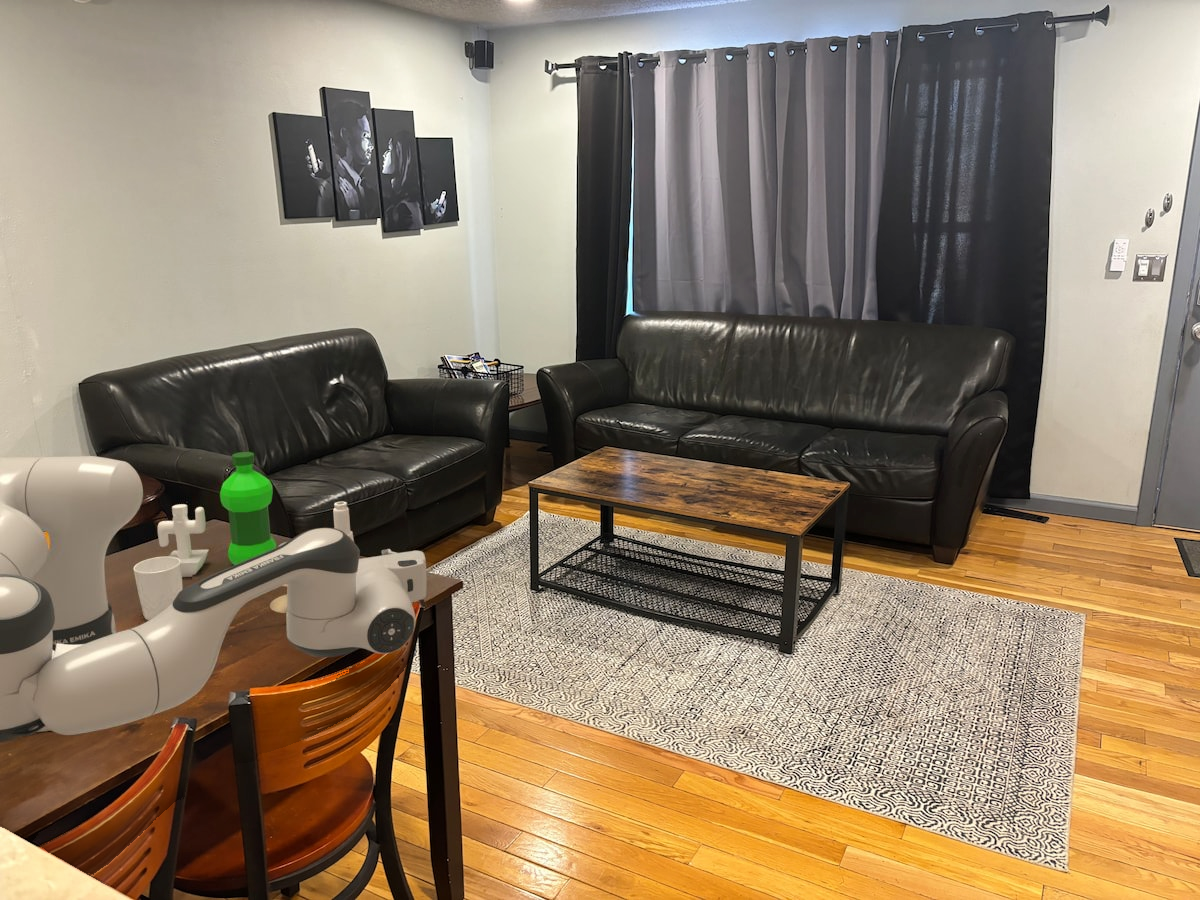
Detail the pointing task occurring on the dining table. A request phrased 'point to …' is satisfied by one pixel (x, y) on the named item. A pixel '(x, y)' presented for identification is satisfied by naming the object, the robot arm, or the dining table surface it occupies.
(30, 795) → the dining table surface
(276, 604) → the coaster free
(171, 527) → the figurine
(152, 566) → the white cup
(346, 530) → the cosmetic bottle
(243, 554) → the plastic bottle
